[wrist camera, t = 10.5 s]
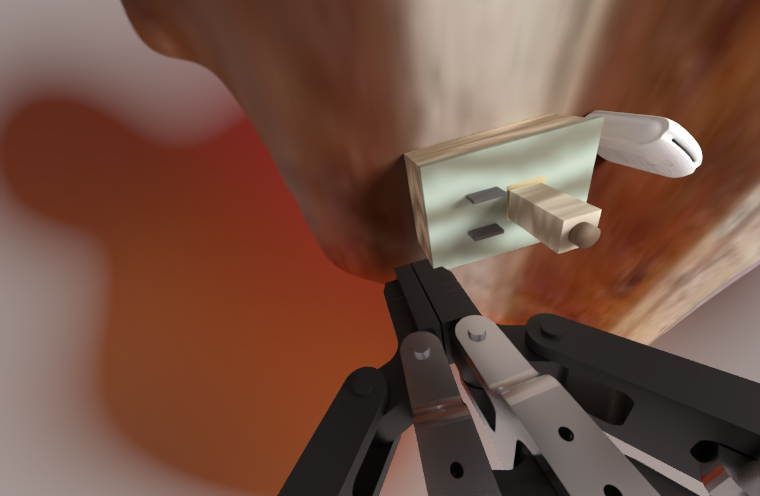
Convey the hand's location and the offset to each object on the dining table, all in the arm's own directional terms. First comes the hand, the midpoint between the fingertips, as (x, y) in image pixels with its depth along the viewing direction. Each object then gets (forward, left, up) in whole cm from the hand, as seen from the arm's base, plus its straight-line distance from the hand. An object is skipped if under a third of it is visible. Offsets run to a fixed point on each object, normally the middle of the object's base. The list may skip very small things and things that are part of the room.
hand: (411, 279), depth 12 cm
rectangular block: (+10, +18, -29) cm, 36 cm away
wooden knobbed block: (+10, +20, -20) cm, 30 cm away
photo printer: (+8, +38, -29) cm, 49 cm away
